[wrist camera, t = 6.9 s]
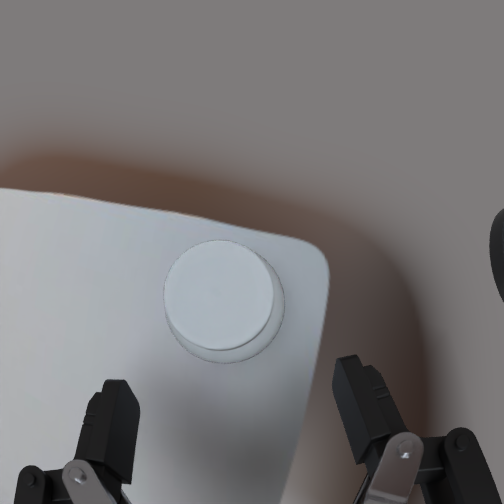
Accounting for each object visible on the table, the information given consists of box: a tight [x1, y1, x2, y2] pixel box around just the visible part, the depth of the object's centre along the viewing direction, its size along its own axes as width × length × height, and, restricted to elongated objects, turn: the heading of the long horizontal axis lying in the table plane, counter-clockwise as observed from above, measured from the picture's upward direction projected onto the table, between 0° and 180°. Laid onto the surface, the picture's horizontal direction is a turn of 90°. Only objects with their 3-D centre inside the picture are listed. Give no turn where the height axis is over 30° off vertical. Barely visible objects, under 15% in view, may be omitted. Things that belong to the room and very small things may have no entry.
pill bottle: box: [163, 240, 285, 364], centre depth 15 cm, size 5×5×10 cm
